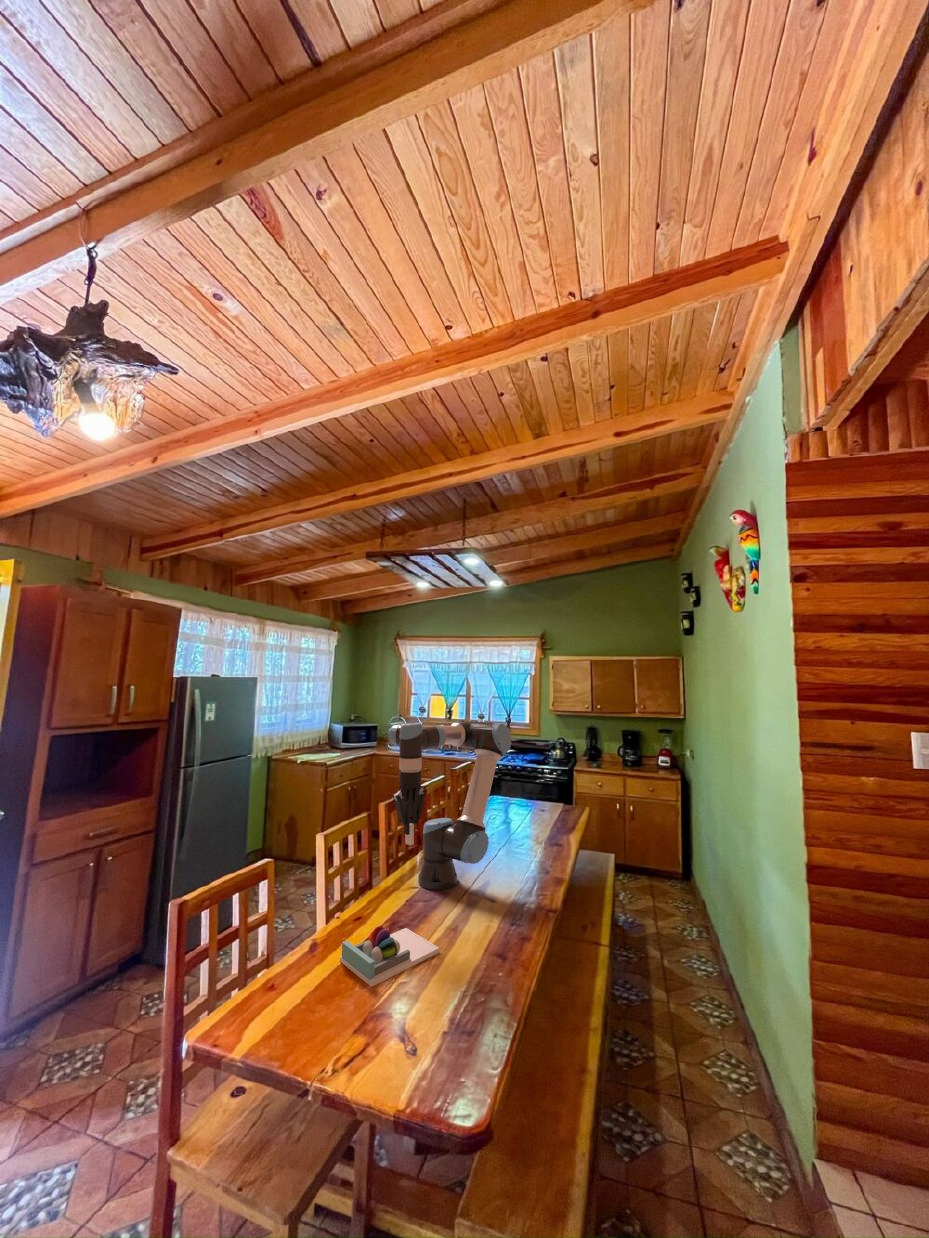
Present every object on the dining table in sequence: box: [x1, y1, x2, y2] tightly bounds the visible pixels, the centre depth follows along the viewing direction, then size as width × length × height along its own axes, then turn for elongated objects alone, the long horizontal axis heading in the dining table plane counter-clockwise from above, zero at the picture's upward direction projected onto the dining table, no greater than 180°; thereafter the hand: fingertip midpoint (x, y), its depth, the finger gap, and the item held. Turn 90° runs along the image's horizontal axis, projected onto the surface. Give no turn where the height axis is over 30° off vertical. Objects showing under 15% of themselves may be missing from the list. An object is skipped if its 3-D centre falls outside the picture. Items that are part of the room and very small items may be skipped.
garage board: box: [339, 927, 440, 988], centre depth 138 cm, size 23×16×5 cm
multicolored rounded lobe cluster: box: [363, 925, 400, 964], centre depth 136 cm, size 8×10×7 cm
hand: (409, 843), depth 160 cm, fingers closed
